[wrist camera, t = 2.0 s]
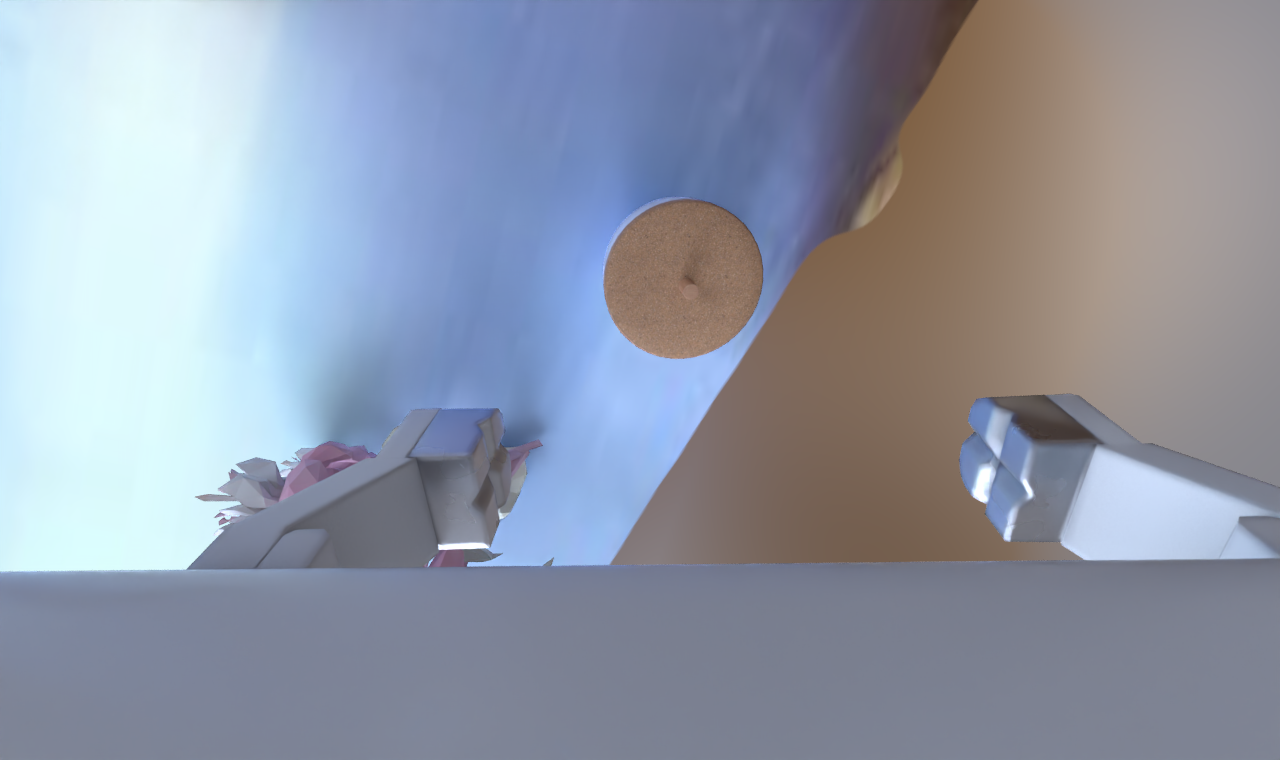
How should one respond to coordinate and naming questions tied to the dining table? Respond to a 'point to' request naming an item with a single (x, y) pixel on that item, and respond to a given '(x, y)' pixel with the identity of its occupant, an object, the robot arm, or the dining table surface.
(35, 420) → the dining table surface
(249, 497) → the flower
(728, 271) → the trinket box
